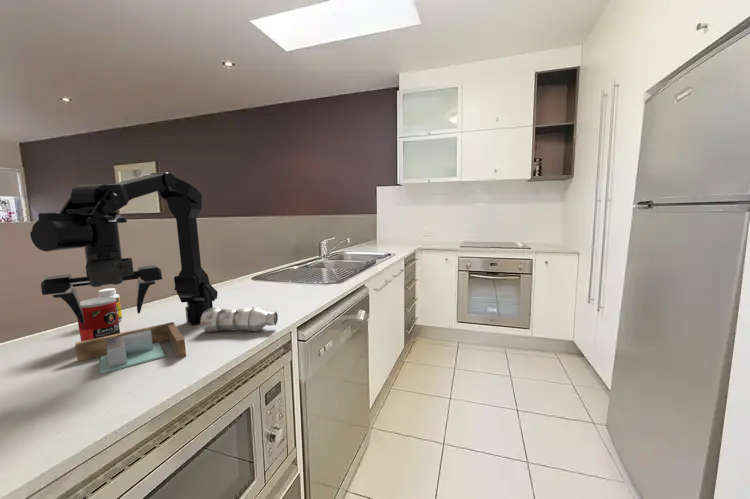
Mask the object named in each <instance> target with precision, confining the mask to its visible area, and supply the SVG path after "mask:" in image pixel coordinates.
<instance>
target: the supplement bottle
mask: <svg viewBox="0 0 750 499" xmlns="http://www.w3.org/2000/svg"><path fill="white" fill-rule="evenodd" d="M97 291H98V297H96V298H101V297H114V298H115V299H116V304H117V311H118V319H119V322H121V321H122V320H123V314H122V306H121V305H122V304H121V298H120V294H117V291H116V288H114V287H113V288H112V287H110V288H103V289H100V290H97Z"/></svg>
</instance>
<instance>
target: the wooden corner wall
mask: <svg viewBox="0 0 750 499" xmlns="http://www.w3.org/2000/svg"><path fill="white" fill-rule="evenodd" d="M147 330H150V331H151V334H152V343H153V344H154V343H158V342H159V343H162V342H166V341H169V342H170V345H171V347H172V348H173V350H174V352H175V354H176V356H177V358H178V359H181V358H186V357H187V350H186V342H185V341H186V340H185V338H184V336H183V335H182V333H181V332H180V330H179V329H178V327H177V325H176V324H175V322H174V321H173V322H167V323H162V324H158V325H152V326H149V327H143V328H139V329H134V330H129V331H124V332H120V333H119V334H114V335H109V336H105V337H100V338H95V339H90V340H86V341H81V340H80V341H77V342H76V341H75V344H74V345H75V346H74V347H75V352H76V359H77V362H83V361H86V360H90V359H94V358H101V356H104V355H107V339H109V338H114V337H118V336H123V335H128V334H133V333H137V332H142V331H147Z"/></svg>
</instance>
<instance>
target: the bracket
mask: <svg viewBox="0 0 750 499" xmlns="http://www.w3.org/2000/svg"><path fill="white" fill-rule="evenodd" d="M149 350H153V343H152V334H151V331H150V330H147V331H142V332H137V333H133V334H128V335H123V336H118V337H114V338H109V339H107V356H108V363H109V368H112V367H116V366H120V365H124V364H127V356H128V355H132V354H136V353H140V352H144V351H149Z"/></svg>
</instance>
